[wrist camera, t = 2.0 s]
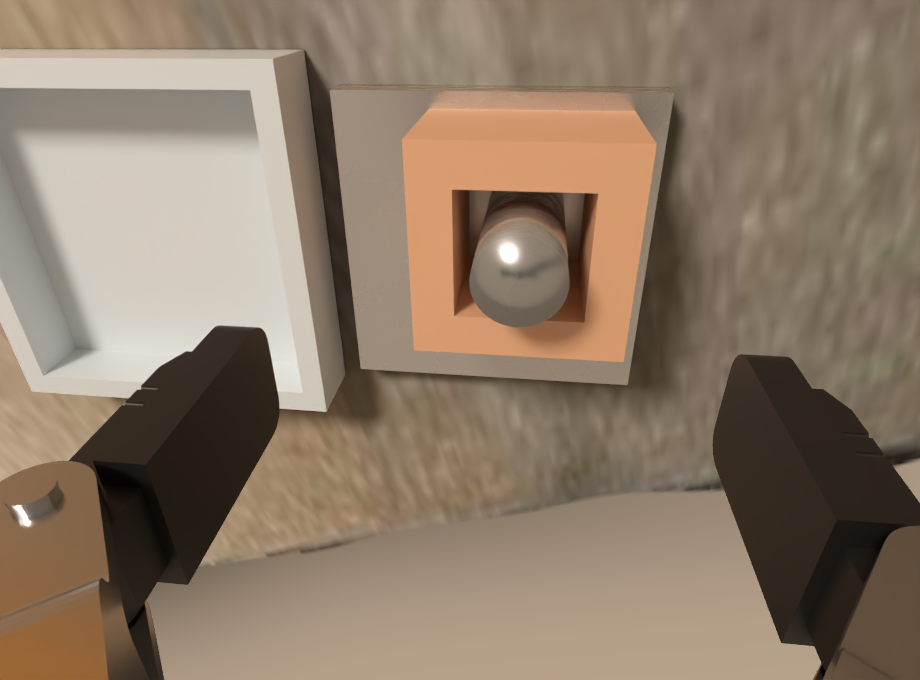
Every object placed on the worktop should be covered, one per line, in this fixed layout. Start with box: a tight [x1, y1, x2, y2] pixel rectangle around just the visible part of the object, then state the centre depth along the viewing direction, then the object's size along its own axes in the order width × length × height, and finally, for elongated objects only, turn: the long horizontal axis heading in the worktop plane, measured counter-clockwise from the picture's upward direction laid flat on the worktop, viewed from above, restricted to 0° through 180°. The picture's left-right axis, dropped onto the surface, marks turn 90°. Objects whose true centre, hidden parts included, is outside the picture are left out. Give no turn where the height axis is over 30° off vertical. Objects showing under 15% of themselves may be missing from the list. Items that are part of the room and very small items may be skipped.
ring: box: [402, 109, 657, 362], centre depth 18 cm, size 6×6×4 cm
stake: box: [330, 85, 674, 385], centre depth 18 cm, size 10×10×6 cm
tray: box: [0, 49, 346, 412], centre depth 21 cm, size 12×12×2 cm
